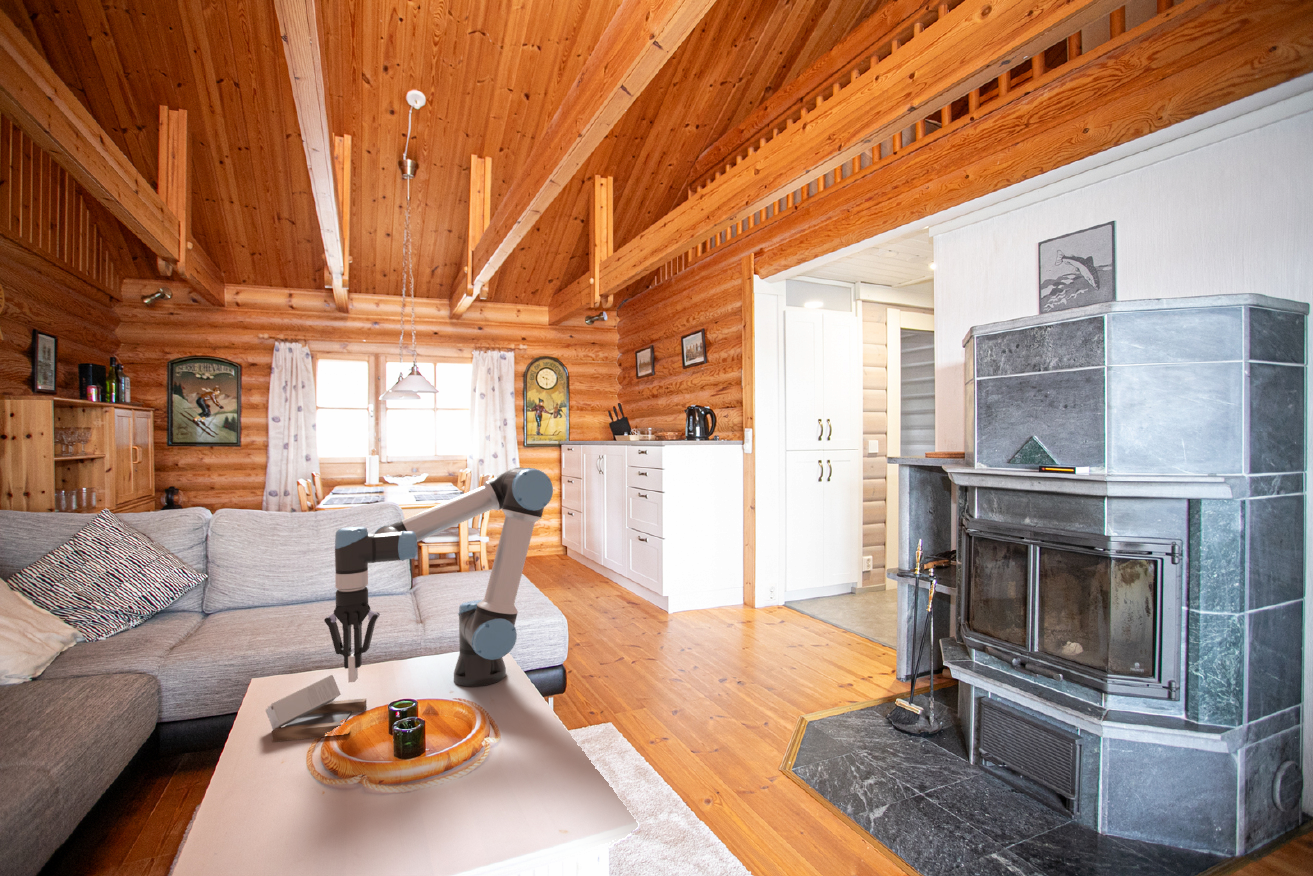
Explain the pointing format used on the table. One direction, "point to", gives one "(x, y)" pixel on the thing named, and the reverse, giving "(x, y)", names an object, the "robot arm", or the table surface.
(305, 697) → the skincare box
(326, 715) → the u rest
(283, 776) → the table surface
